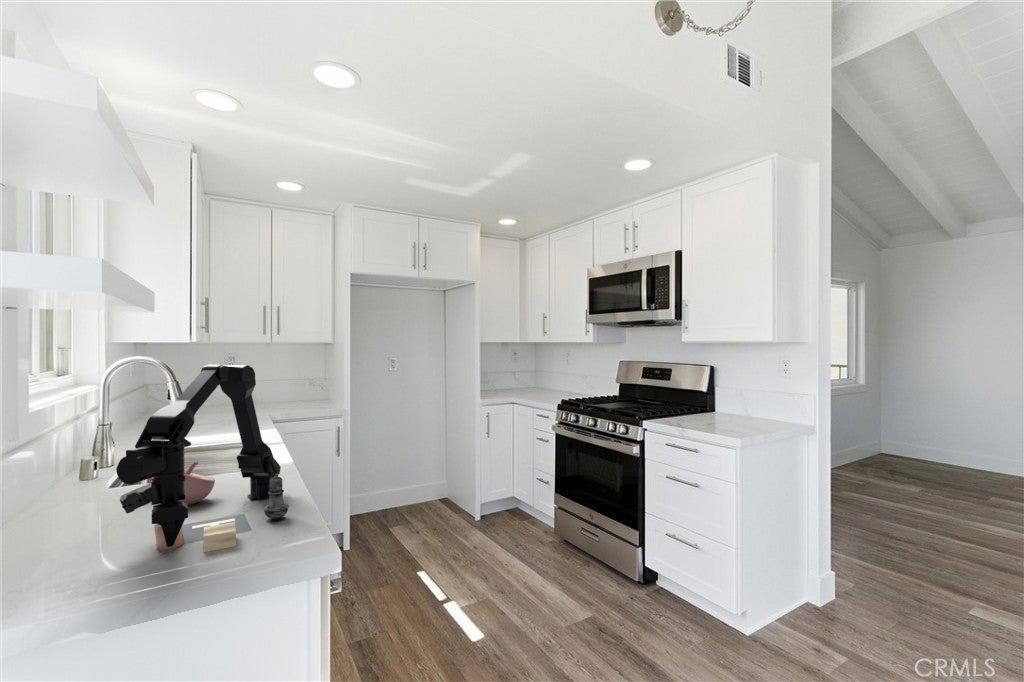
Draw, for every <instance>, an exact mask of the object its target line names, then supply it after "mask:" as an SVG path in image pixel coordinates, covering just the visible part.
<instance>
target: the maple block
mask: <svg viewBox="0 0 1024 682" xmlns="http://www.w3.org/2000/svg"><path fill="white" fill-rule="evenodd" d="M234 547H237V534H236V528H235V522H232V523H226V524H220V525H214V526H208V527H204V540H203V553H206V552H213V551H217V550H222V549H228V548H234Z"/></svg>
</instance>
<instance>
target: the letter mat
mask: <svg viewBox="0 0 1024 682" xmlns="http://www.w3.org/2000/svg"><path fill="white" fill-rule="evenodd" d="M232 522H235V528H236V535H238V534H243V533H246V532H251V531H253V529H252V527H251V525H250V523H249V520H248V518H247V516H246V514H245V513H241V514H240V513H239V514H235V515H229V516H224V517H218V518H212V519H207V520H202V521H196V522H190V523H185V524H184V523H183V525H182V527H183V535H184V544H183V545H187V544H192V543H197V542H202V541H203V542H204V527H208V526H214V525H220V524H226V523H232Z"/></svg>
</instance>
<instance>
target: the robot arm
mask: <svg viewBox="0 0 1024 682" xmlns="http://www.w3.org/2000/svg"><path fill="white" fill-rule="evenodd" d="M256 385H257V383H256V373H255V370H254V368H253V366H250V365H247V364H244V365H243V364H241V365H239V364H238V365H237V364H235V365H234V364H233V365H232V364H231V365H230V364H227V365H224V364H206V365H204V366H203V367H202V368H201V370H200V373H198V375H197V376H196V377H195V378H194V379H193V381H192V382H191V383H189V385H188V386H187V387H186V388H185V389H184V390H183V391H182V392H181V394H180V395H179V396H178V397H177V398H176V400H174V401H173V402H172V403H170V404H168V405H165V406H163V407H161V408H160V409H158V410H157V411H156V412H154V413H153V414H152V415H151V416H150V417H148V419H147V421H146V423H145V426H144V427H143V429H142V432H141V433H140V436H139V438H138V440H137V441H136V443H135V445H134V448H130V449H126V450H125V456H124V457H122V458H121V459H120V460H119V462H118V464H117V466H116V468H115V469H116V475H117V478H118V479H119V481H121V482H122V483H124V484H126V485H135V484H138V483H140V482H144V481H145V480H149V478H152V481H151V483H150V484H149V483H147V484H145V485H142V486H139V487H138V488H136V489H133V490H131V491H128V492H126V493H124V494H122V495H120V497H119V498H120V499H119V502H120V504H121V507H122V509H123V510H124V512H125V514H130V513H133V512H135V510H137V509H139V508H141V507H144V506H146V505H148V504H150V503H151V506H152V510H151V525H156V524H159V525H160V526H161V527H162V530H163V533H164V537H165V541H166V544H167V547H171V546H173V545H174V543H175V541H176V538H177V536H178V534H179V532H180V529H181V527H182V525H184V523H185V521H186V519H188V518H189V508H188V506H189V505H187V504H186V503H185V501H179V500H184V499H185V471H186V469H185V448H186V447H187V448H188V447H190V446H191V445H192V442H191V441H189V440H187V439H186V437H187V436H188V434H189V433H190V431H191V430H192V428H193V426H194V425H195V415H196V414H197V412H198V411H199V409H200V408H201V407H202V406H203V405H204V403H206V401H207V400H208V399H209V397H210V396H211V395H212V394H213V393H214V391H215V390H216V389H217V388H218V386H220V390H221V391H222V392H223V393H224V395H226V396H227V397H228V398H229V399H230V400H231V405H232V408H233V413H234V417H235V421H236V426H237V429H238V433H239V437H240V441H241V445H242V448H241V450H240V453H239V454H238V455H236V460H237V465H238V467H237V468H238V469H240V474H241V476H242V478H243V479H245V478H249V488H250V489H249V490H250V491H249V494H247V498H248V499H249V501H250V502H257V501H262V500H267V499H269V500H270V494H268V492H269V491H270V479H271V478H273V477H274V476H275V474H277V476H278V477H279V475H281V474H280V473H281V469H282V468H281V465H280V463H278V461H277V460H276V459H275V458H274V455H273V452H272V448H271V447H269V446H268V444H266V443H265V442H264V441H263V438H262V434H261V433H262V432H261V430H260V424H259V421H258V418H257V417H258V416H257V412H256V411H257V410H256V408H255V404H254V403H255V402H254V399H253V395H252V394H253V392H254V390H255V388H256Z"/></svg>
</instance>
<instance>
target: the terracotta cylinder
mask: <svg viewBox="0 0 1024 682" xmlns="http://www.w3.org/2000/svg"><path fill="white" fill-rule="evenodd" d="M153 527H154V528H153V531H154V536H155V546H156V549H157V550H159V551H169V550H174V549H177V548H179V547H181V546H183V545H185V544H184V535H183V527H181V529H180V532H179V534H178V536H177V538H176V541H175V543H174V545H173V546H171V547H167V544H166V541H165V537H164V533H163V530H162V527H161V526H160V525H159V524H154V526H153Z"/></svg>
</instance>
